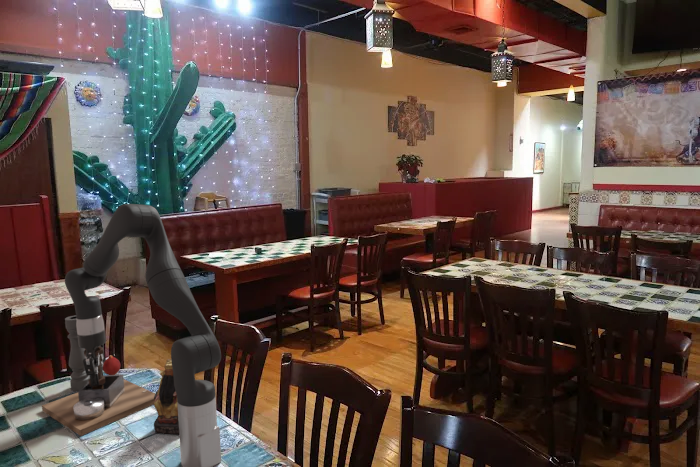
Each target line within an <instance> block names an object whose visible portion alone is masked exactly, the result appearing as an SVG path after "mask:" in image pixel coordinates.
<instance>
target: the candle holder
mask: <svg viewBox="0 0 700 467" xmlns="http://www.w3.org/2000/svg"><path fill="white" fill-rule="evenodd" d="M76 323H77V320H76V314H75V315H70V316H67V317H65V318H64V324H65V329H66V331H67V332H68V333H69V334H68V335H67V339H68V340H69V341H70V352H69V358H68V367H69V368H70V369H71V371H72V373H71V374H70V380H69V382H70V391H72V392H74V393H77V392H78V391H79V390H80V389H81V388H82V387H83V386H84V385H85V384H86V383H88V382H89V379H90V375H88V376H87V375H86V371H85V367H84V363H83V359H86V358H85V355H84V351H85V350H86V349H84V348H80V347H79V342H78V334H77V326H76Z"/></svg>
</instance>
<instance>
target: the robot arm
mask: <svg viewBox="0 0 700 467" xmlns="http://www.w3.org/2000/svg"><path fill="white" fill-rule="evenodd" d="M125 238H143V239H144V240H145V241H146V244H147V245H148V249H149V253H150V254H149V260H148V262H147V264H146V270H145V276H144V277H145V278H144V279H145V283H146V285H147V287H148V289H149V291H150V294H151V297H152V298H153V300H154V302H155V303H156V305H158V306H159V307H160V308H162V310H164V311H165V312H167V313H169V314H170V315H171V316H174V318H176V319H178V320H179V321H180V322H181V323H182V324H183V325H184V326H185V327H186V329H187V330H188V332H189V334H190V335H189V336H186V337H183V338H180V339H179V338H178V339H177V340H175V341H174V342H173V343H172V345H171V349H170V359H171V361H172V369H173V377H174V386H175V391H176V395H177V405H178V421H179V435H178V436H179V449H180V451H179V452H180V461H181V463H180V464H181V467H214V466H215V467H216V466H217V465H218V464H219V463H221V462H222V448H221V446H222V445H221V432H220V431H221V430H220V426H218V417H217V416H218V415H217V398H216V386H215V384H214V383H213V382H211V381H209V380H206V379H196V376H195V375H196V374H200V373H202V372H204V371H208V370H211V369H213V368H215V367H217V366H218V365H220V362H221V361H222V352H221V347H220V343H219V342H218V340H217V337H216V335H215V333H214V332H213V330H212V328H211V327H210V325H209V324H208V322H207V320H206V319H205V317H204V315H203V313H202V312H201V310H200V308H199V306H198V304H197V302H196V300H195V298H194V295H193V293H192V291H191V289H190V287H189V283H188V282H187V279H186V277H185V275H184V273H183V270H182V269H181V267H180V264H179V262H178V261H177V258H176V256H175V254H174V251H173V249H172V247H171V245H170V241H169V238H168V236H167V232H166V230H165V227H164V223H163V221H162V218H161V216H160V213H159V212H158V210H157V209H156V208H155V207H153V206H152V205H148V204H141V203H140V204H136V203H124V204H121V205H119V206H118V207H117V208H116V210H115V211H114V213H113V215H111V218H110V220H109V222H108V223H107V225H106V227H105V229H104V232H103V233H102V236H101V238H100V240H98V243H97V245H96V246H95V247H94V248H93V249H92V251H91V252H90V253H89V254H88V255H87V257H86V258H85V259H84V262H83V264H82V265H83V267H79V268H74V269H71V270H69V271H68V272H67V273H66V274H65V277H64V284H65V288H66V289H67V291H68V293H69V296H70V297H71V300H72V303H73V305H74V309H75V315H76V320H77V323H76V326H77V334H78V342H79V347H80V348H84V349H85V350H86V356H85V358H86V359H83V363H84V367H85V371H86V375H87V376H88V375H90V382H91V386H98V385H99V378H98V366H99V357H101V358H100V361H101V370H102V376H103V375H104V371H103V364H104V362H105V349H104V348H105V345H104V344H106V341H107V340H106V339H107V336H106V331H105V330H106V329H105V321H104V317H103V312H102V306H101V304H102V303H101V300H100V297H98V296H94V295H89V296H88V295H87V294H86V291H88V290H92V289H96V288H98V287H100V286H101V285H103V283H105V280H106V277H107V274H108V271H109V270H110V269H112V267H113V266H114V265H115V264H116V262H117V261H118V259H119V256H120V247H119V243H120V242H121V241H122V240H124V239H125ZM98 347H102V348H103V351H104V353H103V354H101V355H99V353H98V356H96V357H95V351H96V350H97V349H98ZM94 363H96V364H94ZM91 369H92V370H93V371H91Z"/></svg>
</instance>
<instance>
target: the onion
mask: <svg viewBox="0 0 700 467" xmlns="http://www.w3.org/2000/svg"><path fill="white" fill-rule="evenodd" d="M102 368H103V373H105V374H106V375H117V374H118V372H119V371H120V370H121V362H120V360H119V359H118V358H116V357H115V356H113V355H109V356H108V358H107V359H105V360H104V363H103V366H102Z"/></svg>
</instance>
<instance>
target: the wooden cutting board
mask: <svg viewBox="0 0 700 467" xmlns="http://www.w3.org/2000/svg"><path fill="white" fill-rule="evenodd" d="M124 390H125V391H124V392H123V393H122V394H121V395H120V396H119V397H118V399H117V400H116V401H115V402H114V403H113V404H112V405H111V407H104V412H103V413H102V414H101V415H100V416H98V417H95V418H92V419H88V420H77V419H75V417H74V408H73V407H74V405H75V404H76V403H78V402H79V396H78V392H74V393H73V394H70V395H67V396H64V397H62V398H59V399H57V400H54V401H51V402H47V403H45V404H42V405H41V410H42V412H43V413H45V414H46V415H48V416H50V417H51V418H52V419H53V420H56V422H58V423H60V424H61V425H63V426H64V427H66V428H68V429H69V430H71V431H72V432H74V433H75V434H77V435H78V436H79V437H83V436H84V435H86V434H87V435H88V433H89V434H90V433H91V432H93V431H96V430H98V429H101V428H103V427H105V426H107V425H110V424H112V423H114V422H117V421H119V420H121V419H123V418H126V417H128V416H130V415H133V414H134V413H137V412H138V411H142V410H144V409H145V408H149V407H151V406H154V403H155V399H154V396H155V394H156V392H153V391H150V390H149V389H146V388H144V387H141V386H140V385H137V384H135V383H134V382H131V381H129V380H127V379H124Z"/></svg>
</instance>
